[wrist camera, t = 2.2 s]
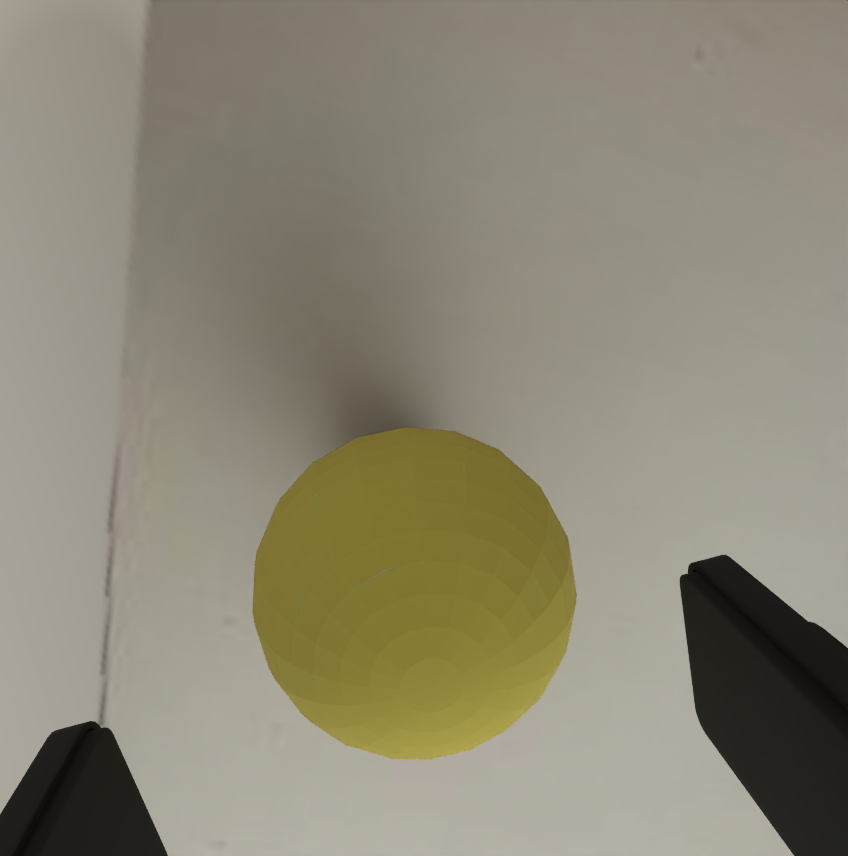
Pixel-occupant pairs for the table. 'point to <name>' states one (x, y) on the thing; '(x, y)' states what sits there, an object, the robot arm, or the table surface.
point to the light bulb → (414, 593)
